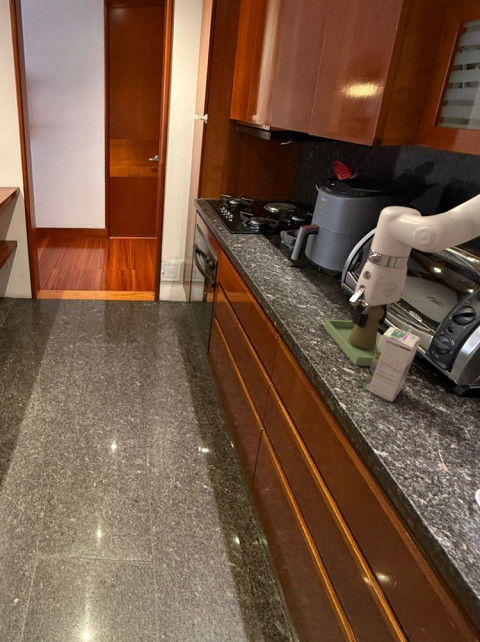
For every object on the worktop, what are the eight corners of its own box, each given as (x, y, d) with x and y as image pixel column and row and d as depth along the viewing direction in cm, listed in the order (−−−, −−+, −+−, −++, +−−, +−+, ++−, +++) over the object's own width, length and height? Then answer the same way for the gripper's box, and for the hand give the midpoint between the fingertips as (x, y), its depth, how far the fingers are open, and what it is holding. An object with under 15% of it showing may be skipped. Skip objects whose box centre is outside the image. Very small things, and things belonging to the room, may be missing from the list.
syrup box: (371, 378, 90) (388, 325, 85) (401, 391, 86) (422, 336, 81) (362, 388, 87) (380, 334, 82) (393, 403, 83) (414, 347, 77)
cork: (370, 337, 103) (382, 301, 99) (379, 350, 98) (391, 312, 94) (345, 334, 105) (355, 298, 101) (352, 346, 100) (363, 309, 95)
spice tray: (403, 368, 94) (406, 359, 93) (355, 365, 95) (357, 357, 94) (364, 328, 110) (367, 321, 109) (323, 327, 110) (325, 319, 110)
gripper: (372, 268, 87) (352, 336, 94) (430, 260, 91) (407, 326, 98) (345, 256, 94) (328, 320, 101) (400, 249, 98) (380, 311, 105)
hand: (367, 322), depth 99 cm, fingers closed on cork, 5 cm apart
